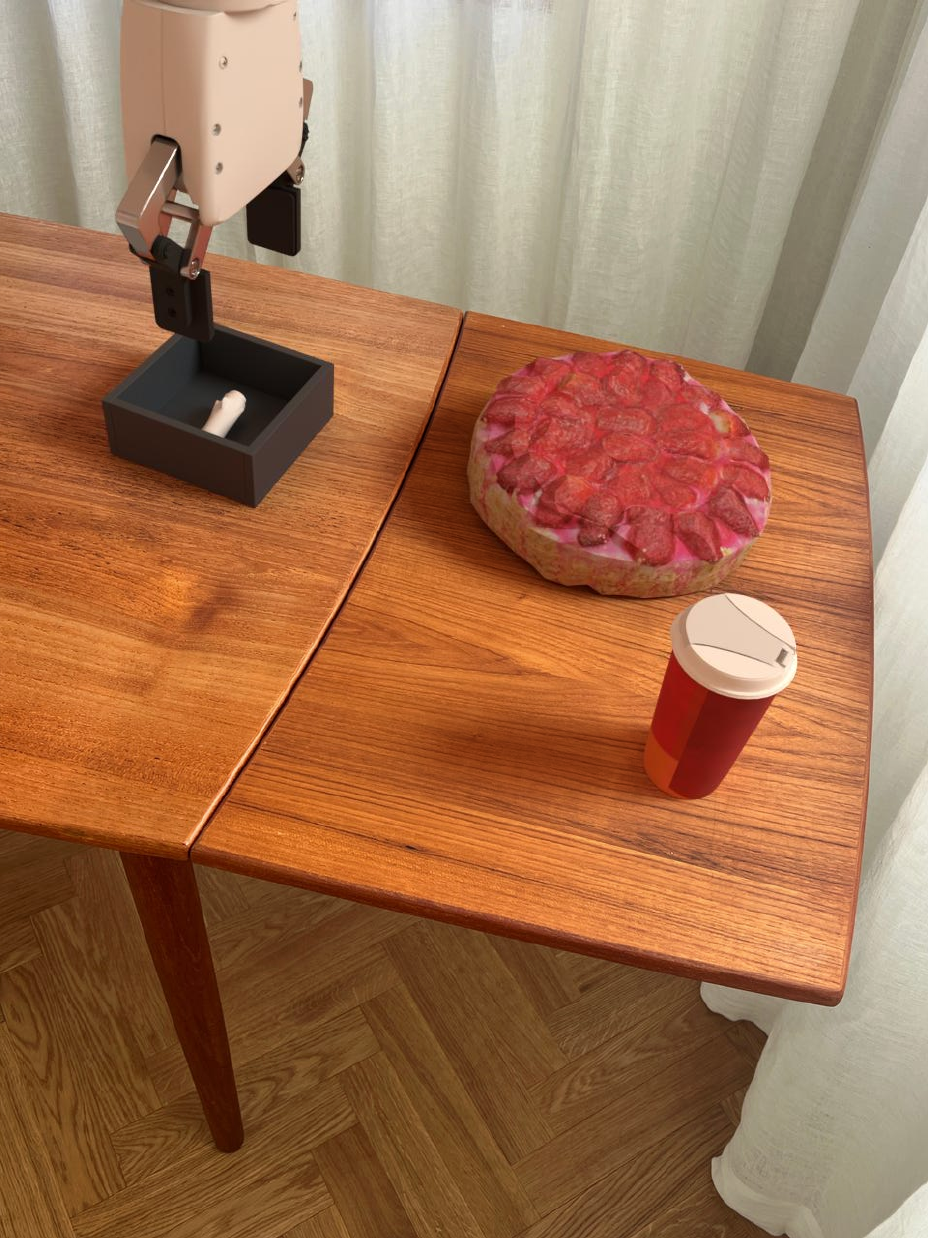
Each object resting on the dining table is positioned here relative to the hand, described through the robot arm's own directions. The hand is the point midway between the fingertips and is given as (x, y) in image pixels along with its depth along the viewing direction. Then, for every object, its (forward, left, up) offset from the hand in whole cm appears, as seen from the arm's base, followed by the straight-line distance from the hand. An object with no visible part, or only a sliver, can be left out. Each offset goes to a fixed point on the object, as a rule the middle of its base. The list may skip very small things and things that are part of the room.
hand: (232, 288), depth 61 cm
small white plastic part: (-12, +16, -27) cm, 34 cm away
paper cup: (+33, +2, -28) cm, 43 cm away
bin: (-12, +17, -27) cm, 34 cm away
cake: (+20, +26, -28) cm, 42 cm away
